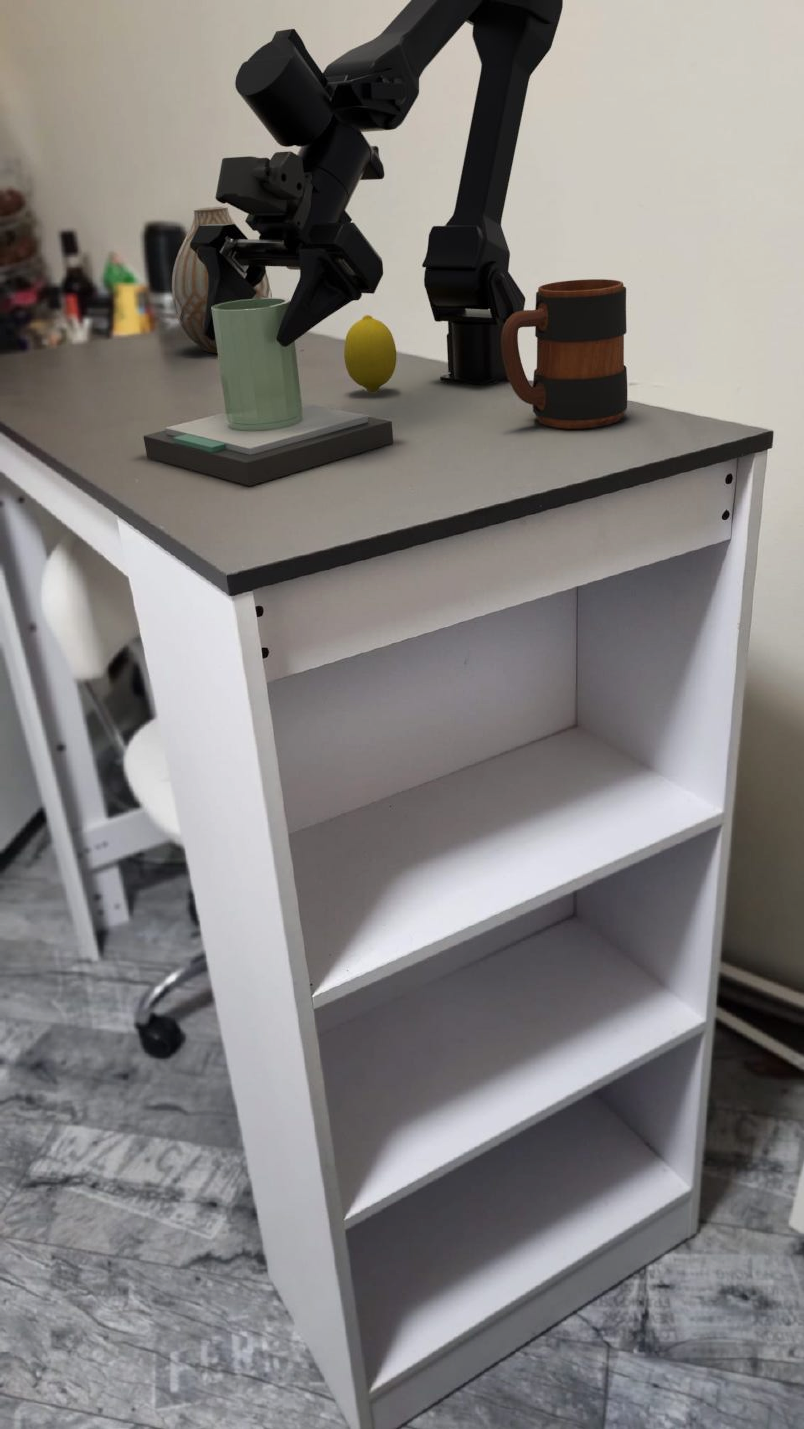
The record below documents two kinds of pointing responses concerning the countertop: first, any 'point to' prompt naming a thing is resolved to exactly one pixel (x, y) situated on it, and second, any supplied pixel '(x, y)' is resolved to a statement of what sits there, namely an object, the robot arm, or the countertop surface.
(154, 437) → the scale
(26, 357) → the countertop surface
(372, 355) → the lemon
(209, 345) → the vase
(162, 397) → the countertop surface
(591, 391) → the mug
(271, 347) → the cup
